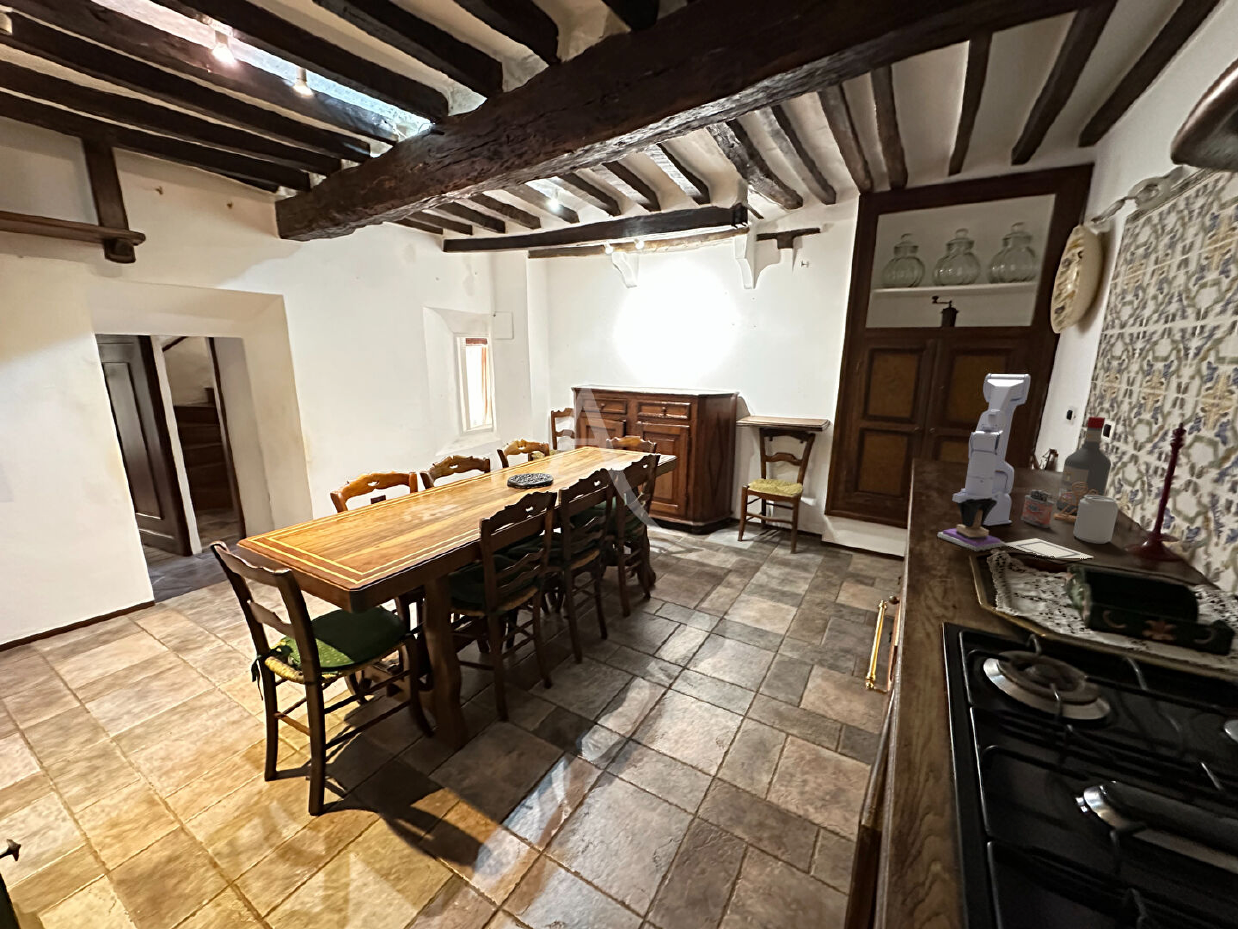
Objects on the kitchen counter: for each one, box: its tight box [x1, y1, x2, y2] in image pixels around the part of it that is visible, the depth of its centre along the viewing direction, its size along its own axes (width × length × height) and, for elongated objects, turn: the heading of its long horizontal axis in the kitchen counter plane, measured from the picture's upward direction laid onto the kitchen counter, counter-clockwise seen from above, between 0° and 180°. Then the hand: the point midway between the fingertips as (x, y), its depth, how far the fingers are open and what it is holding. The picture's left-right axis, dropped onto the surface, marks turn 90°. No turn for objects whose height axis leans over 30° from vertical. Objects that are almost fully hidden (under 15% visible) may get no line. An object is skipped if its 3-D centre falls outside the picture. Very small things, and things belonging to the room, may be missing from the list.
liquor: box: [1056, 416, 1112, 515], centre depth 151 cm, size 9×9×30 cm
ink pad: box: [937, 528, 1006, 552], centre depth 130 cm, size 10×11×2 cm
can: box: [1072, 495, 1120, 545], centre depth 129 cm, size 8×8×12 cm
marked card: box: [1004, 537, 1094, 560], centre depth 123 cm, size 12×13×1 cm
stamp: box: [955, 509, 990, 538], centre depth 129 cm, size 5×5×7 cm
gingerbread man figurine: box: [1052, 482, 1098, 523], centre depth 144 cm, size 9×4×12 cm, turn 51°
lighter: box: [1020, 489, 1055, 529], centre depth 143 cm, size 8×3×10 cm, turn 5°
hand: (972, 525), depth 129 cm, fingers closed on stamp, 3 cm apart
